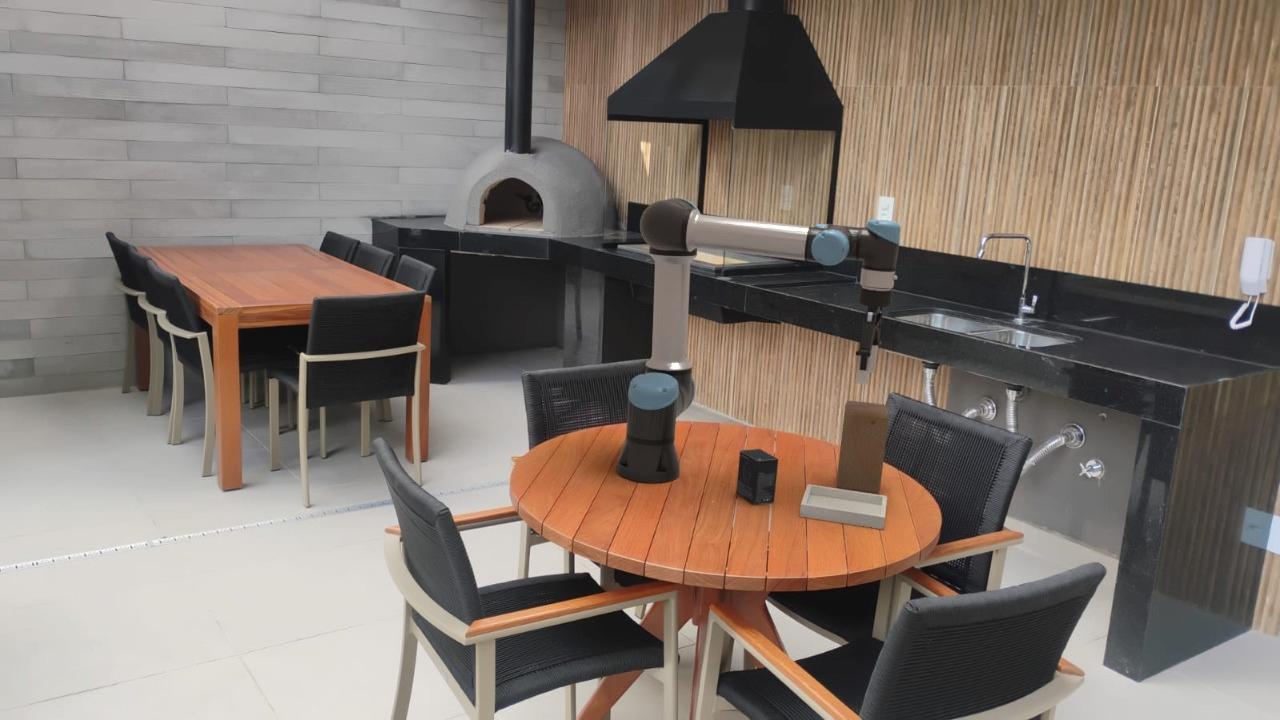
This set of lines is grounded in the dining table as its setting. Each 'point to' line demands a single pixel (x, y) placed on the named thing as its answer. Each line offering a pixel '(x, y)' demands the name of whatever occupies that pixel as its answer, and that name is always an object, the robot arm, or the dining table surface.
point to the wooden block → (862, 447)
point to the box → (757, 476)
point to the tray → (844, 506)
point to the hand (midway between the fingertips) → (865, 377)
